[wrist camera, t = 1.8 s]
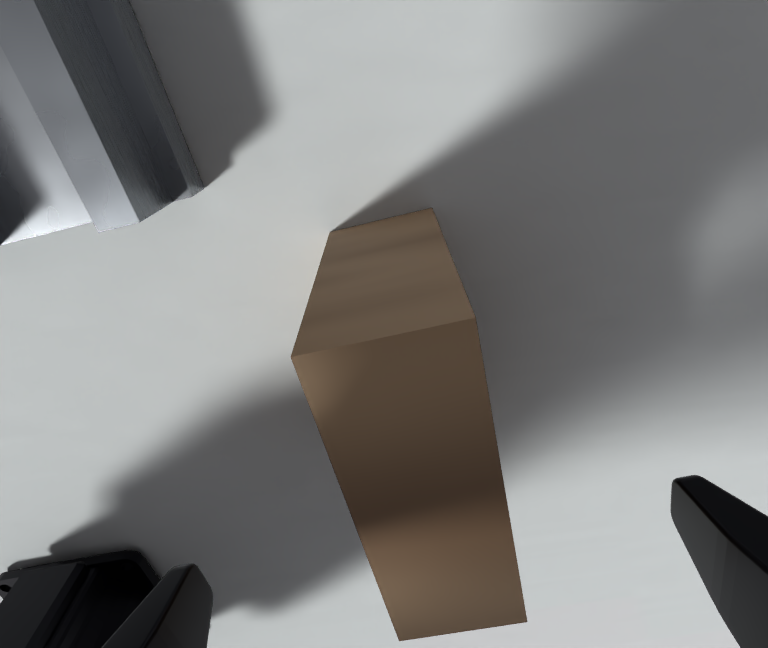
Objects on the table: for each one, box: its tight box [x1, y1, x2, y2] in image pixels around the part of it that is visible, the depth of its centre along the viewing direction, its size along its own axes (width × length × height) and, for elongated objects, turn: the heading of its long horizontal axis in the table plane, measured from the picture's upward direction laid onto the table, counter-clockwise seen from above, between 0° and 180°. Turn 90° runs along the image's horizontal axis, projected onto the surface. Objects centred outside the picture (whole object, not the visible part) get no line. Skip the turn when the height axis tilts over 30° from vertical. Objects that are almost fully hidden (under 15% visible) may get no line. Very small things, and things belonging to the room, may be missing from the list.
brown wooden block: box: [291, 208, 527, 641], centre depth 13 cm, size 8×3×7 cm, turn 13°
